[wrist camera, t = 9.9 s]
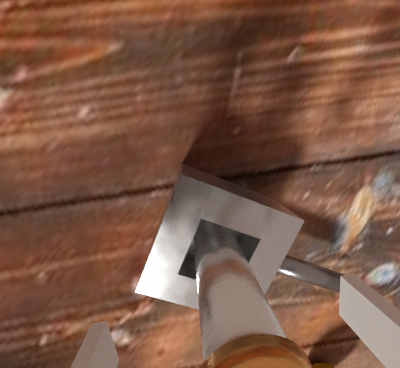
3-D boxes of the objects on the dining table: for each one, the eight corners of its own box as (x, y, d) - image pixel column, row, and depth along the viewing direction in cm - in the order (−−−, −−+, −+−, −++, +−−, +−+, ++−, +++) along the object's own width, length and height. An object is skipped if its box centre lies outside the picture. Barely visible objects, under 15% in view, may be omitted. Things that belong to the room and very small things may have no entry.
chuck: (149, 249, 23) (135, 292, 17) (182, 163, 21) (180, 173, 14) (300, 296, 26) (336, 346, 20) (341, 224, 24) (397, 255, 18)
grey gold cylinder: (185, 217, 20) (187, 394, 6) (232, 209, 20) (336, 364, 6) (193, 258, 21) (207, 487, 7) (237, 250, 21) (333, 459, 7)
